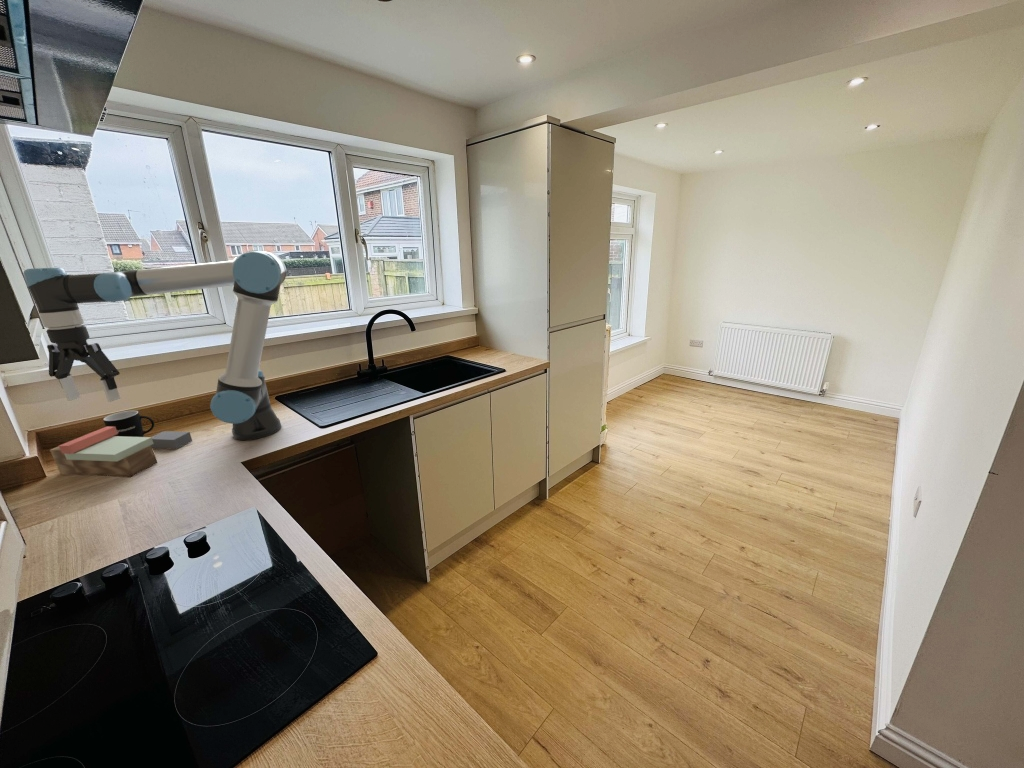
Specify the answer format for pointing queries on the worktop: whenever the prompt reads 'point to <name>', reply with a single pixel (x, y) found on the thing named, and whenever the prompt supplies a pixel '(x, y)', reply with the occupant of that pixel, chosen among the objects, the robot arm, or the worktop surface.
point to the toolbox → (106, 464)
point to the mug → (127, 423)
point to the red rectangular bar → (88, 440)
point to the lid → (111, 449)
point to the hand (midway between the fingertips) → (94, 399)
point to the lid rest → (171, 440)
